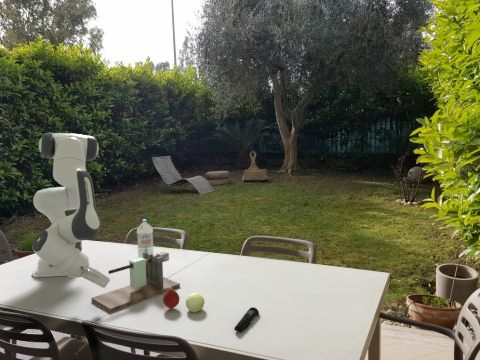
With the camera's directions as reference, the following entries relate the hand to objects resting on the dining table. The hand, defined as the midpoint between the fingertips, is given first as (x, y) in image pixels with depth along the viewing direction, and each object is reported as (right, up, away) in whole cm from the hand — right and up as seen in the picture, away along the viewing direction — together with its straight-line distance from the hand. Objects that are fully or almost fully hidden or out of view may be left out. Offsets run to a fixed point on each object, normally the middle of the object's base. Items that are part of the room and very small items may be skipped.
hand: (103, 283), depth 145 cm
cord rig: (+10, -7, +11) cm, 16 cm away
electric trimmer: (+52, -10, -13) cm, 55 cm away
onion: (+25, -9, -2) cm, 27 cm away
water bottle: (+8, -5, +33) cm, 34 cm away
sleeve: (+10, -4, +11) cm, 15 cm away
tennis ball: (+34, -9, -4) cm, 35 cm away
